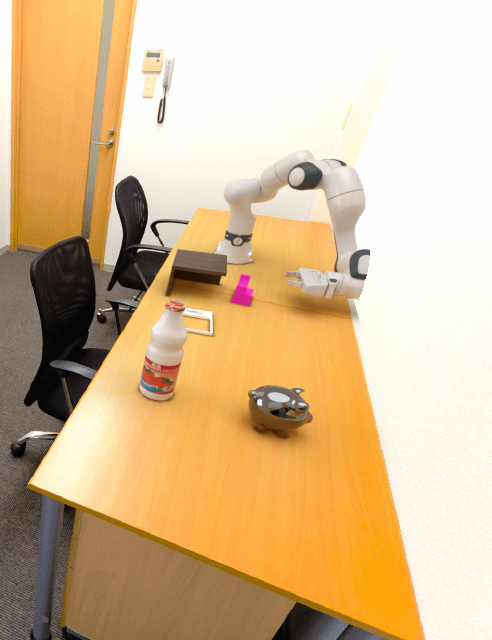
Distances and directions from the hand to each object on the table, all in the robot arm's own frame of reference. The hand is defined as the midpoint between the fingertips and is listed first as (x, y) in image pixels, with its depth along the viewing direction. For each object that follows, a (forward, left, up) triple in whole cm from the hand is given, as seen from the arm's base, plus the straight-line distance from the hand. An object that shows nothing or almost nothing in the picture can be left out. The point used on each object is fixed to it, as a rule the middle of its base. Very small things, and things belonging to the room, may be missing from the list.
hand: (286, 277), depth 167 cm
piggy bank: (+84, -8, -11) cm, 85 cm away
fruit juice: (+81, -37, -11) cm, 90 cm away
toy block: (0, -13, -11) cm, 17 cm away
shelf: (0, -32, -11) cm, 34 cm away
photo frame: (+31, -31, -11) cm, 45 cm away
